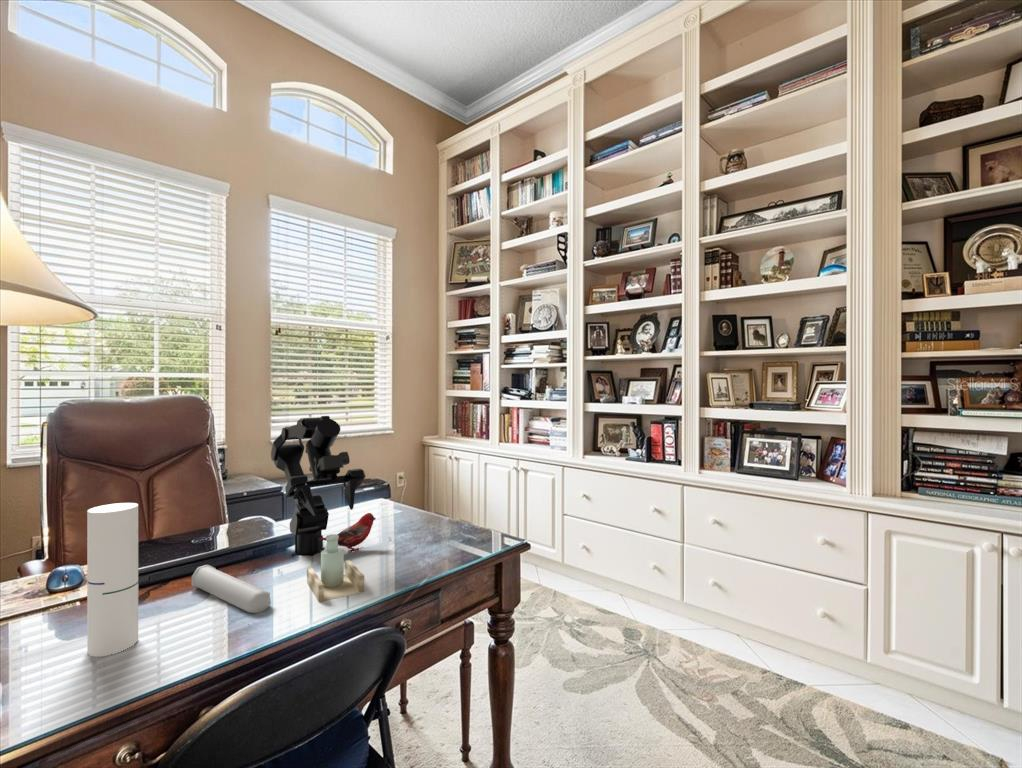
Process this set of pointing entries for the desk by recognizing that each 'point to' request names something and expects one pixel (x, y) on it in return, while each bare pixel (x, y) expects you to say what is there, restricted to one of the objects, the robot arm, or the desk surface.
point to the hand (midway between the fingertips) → (334, 512)
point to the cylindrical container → (112, 578)
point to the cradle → (350, 586)
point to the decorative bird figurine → (355, 533)
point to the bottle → (332, 563)
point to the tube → (231, 589)
